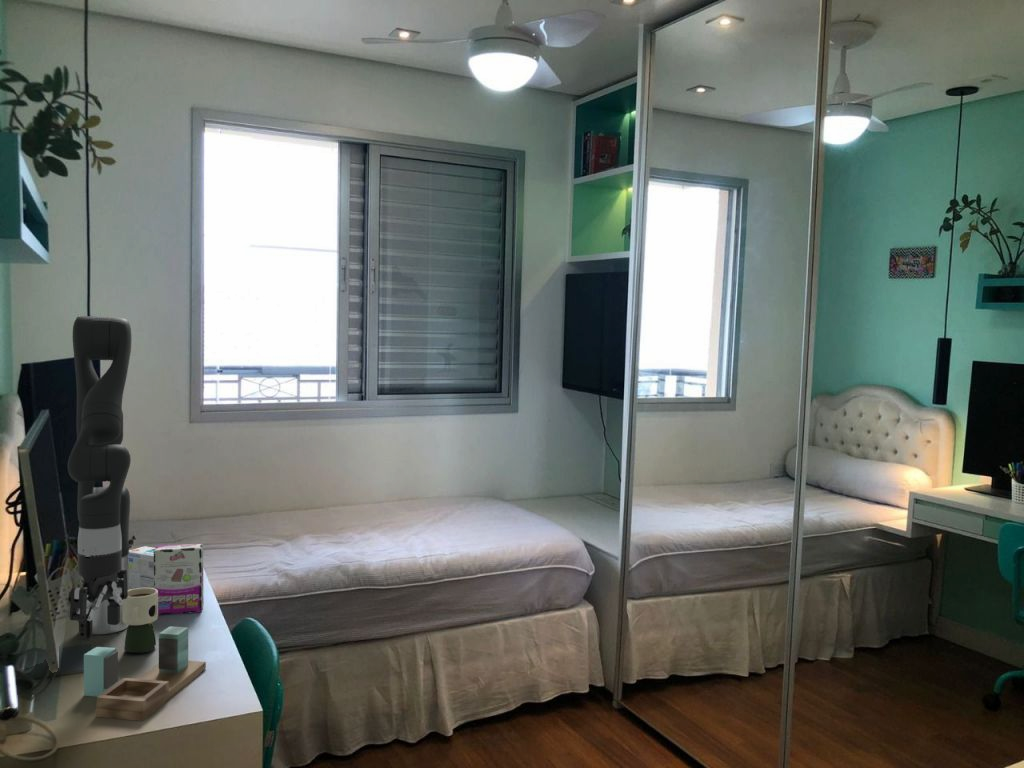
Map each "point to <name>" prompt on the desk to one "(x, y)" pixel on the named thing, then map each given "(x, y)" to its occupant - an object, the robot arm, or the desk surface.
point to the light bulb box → (141, 568)
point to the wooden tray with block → (152, 680)
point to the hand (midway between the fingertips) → (100, 631)
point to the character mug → (140, 619)
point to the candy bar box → (179, 578)
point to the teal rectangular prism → (100, 670)
